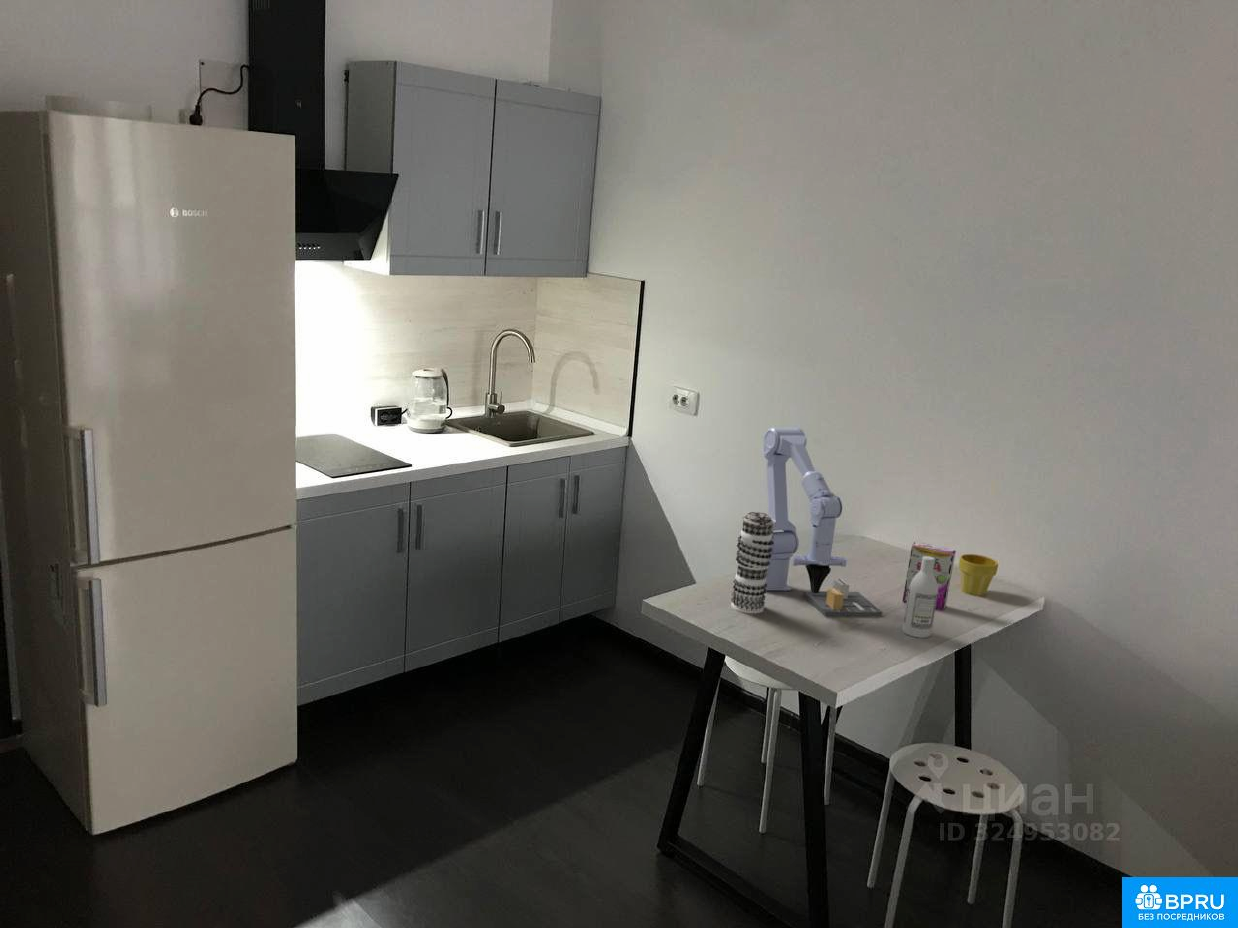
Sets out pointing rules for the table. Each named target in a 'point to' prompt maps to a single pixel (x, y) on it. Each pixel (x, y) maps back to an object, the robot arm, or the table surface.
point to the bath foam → (921, 601)
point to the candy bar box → (940, 569)
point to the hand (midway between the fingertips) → (814, 591)
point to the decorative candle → (752, 563)
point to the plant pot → (976, 573)
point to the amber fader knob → (834, 598)
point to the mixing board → (844, 605)
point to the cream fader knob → (841, 587)
